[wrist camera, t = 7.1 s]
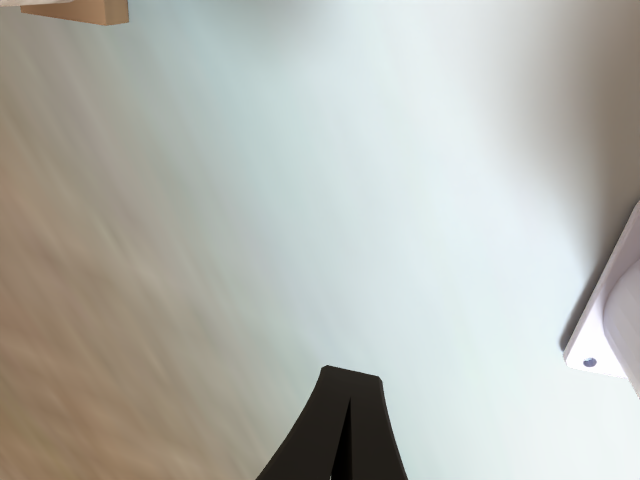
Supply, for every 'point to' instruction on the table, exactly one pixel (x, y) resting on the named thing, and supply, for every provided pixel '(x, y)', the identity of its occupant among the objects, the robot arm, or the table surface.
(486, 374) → the table surface
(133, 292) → the table surface
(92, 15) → the peg rack
